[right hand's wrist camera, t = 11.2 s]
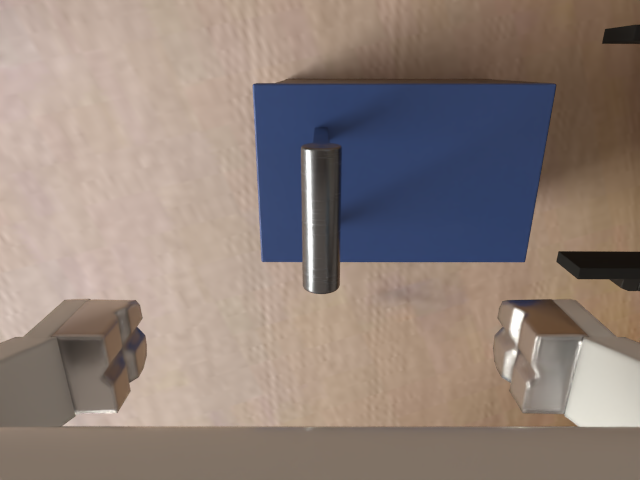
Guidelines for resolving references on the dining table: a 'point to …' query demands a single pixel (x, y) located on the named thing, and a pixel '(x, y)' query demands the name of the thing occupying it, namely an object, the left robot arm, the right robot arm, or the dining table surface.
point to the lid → (397, 172)
